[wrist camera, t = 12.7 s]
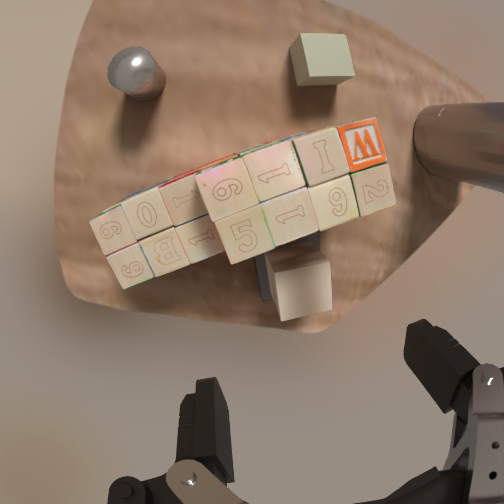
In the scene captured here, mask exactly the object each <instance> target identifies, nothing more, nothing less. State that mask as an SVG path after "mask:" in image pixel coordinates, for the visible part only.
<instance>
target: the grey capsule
mask: <svg viewBox="0 0 504 504" xmlns="http://www.w3.org/2000/svg"><path fill="white" fill-rule="evenodd" d="M107 73H108V79H109V81H110V83H111V84H112V85H113V86H114V87H115V88H117V89H119V90H121V91H122V92H124V93H126V94H128V95H129V96H131V97H133V98H134V99H136V100H139V101H148V100H151V99H154V98H155V97H157V96H158V95H159V94H160V93H161V92H162V90H163V89H164V87H165V83H166V77H165V74H164V72H163V70H162V69H161V68H160V66H159V65H158V63H157V62H156V61H155V59H154V58H153V57H152V55H151V54H150V53H149V51H147V50H146V49H144V48H142V47H129V48H126V49H124V50H122V51H120V52H119V53H118V54H116V55H115V56H114V58H113V59H112V60H111V62H110V64H109V67H108V72H107Z"/></svg>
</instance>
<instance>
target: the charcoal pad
mask: <svg viewBox="0 0 504 504" xmlns="http://www.w3.org/2000/svg"><path fill="white" fill-rule="evenodd" d="M307 241H311V242H312V243H313V244H314V245H315V246H316V247H317V249H318V250H319V251H320V247H319V237H318V231H317V232H314V233H312V234H309V235H307V236H304V237H301V238H299V239H296V240H294V241H291V242H288V243H286V244H283V245H280V246H277V247H281V246H286V245H291V244H296V243H301V242H307ZM275 248H276V247H275ZM255 262H256V268H257V273H258V279H259V284H260V290H261V296H262V300H263V302H264V301H269V300H273V297H272V295H271V292H270V286H269V279H268V273H267V267H266V260H265V254H264V253H262V254H259V255H256V256H255Z"/></svg>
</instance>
